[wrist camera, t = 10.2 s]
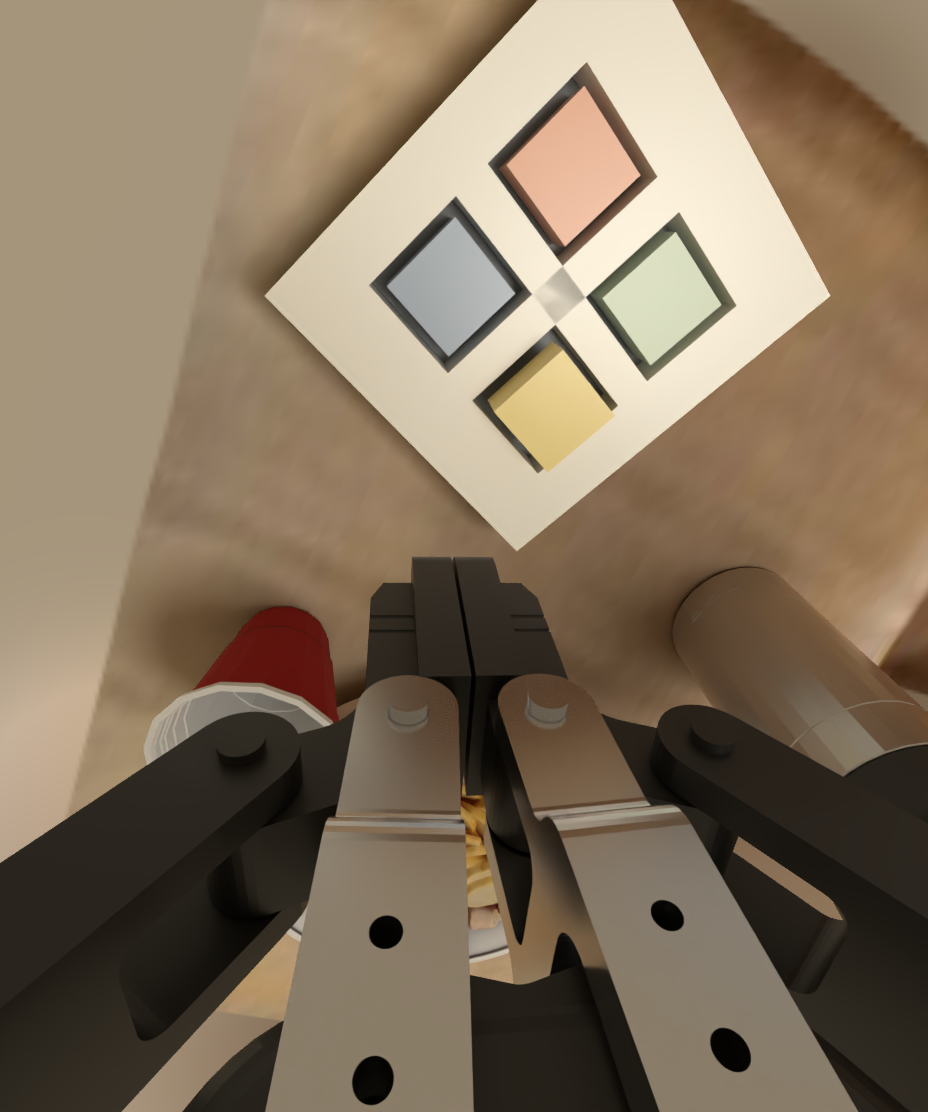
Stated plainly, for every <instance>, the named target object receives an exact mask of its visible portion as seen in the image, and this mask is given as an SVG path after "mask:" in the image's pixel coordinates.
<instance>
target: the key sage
mask: <svg viewBox="0 0 928 1112" xmlns="http://www.w3.org/2000/svg"><path fill="white" fill-rule="evenodd" d="M590 295H591V297H592V298H593V299H594V301H595V302H596V303H597V305H598V306H599V308H600V309H601V310H602V312H603V313H604V314H605V316H606V317H607V319H608V320H609V321H610V323H611V324H612V325H613V327H614V328H615V330H616V331H617V332H618V334H619V335H620V336H621V338H622V339H623V341H624V342H625V343H626V345H627V346H628V347H629V349H630V350H631V352H632V353H633V354H634V356H635V357H637V358H638V359H640V360H642V361H644V362H646V363H647V364H649V365H652V364H653V363H654V362H655V361H656V360H657V359H659V358H660V357H661V356H662V355H663V354H664V353H666V352H667V351H668V350H669V349H670V348H672V347H673V346H674V345H675V344H676V343H677V342H679V341H680V340H681V339H682V338H683V337H684V336H686V335H687V334H688V333H689V332H690V331H691V330H693V329H694V328H695V327H696V326H697V325H699V324H700V323H701V322H702V321H703V320H704V319H706V318H707V317H708V316H709V315H710V314H711V313H713V312H714V311H715V310H716V309H717V308H718V307H720V306H721V303H720V302H719V300H718V299H717V297H716V295H715V294H714V292H713V291H712V289H711V287H710V286H709V284H708V283H707V281H706V279H705V278H704V276H703V275H702V273H701V271H700V270H699V268H698V267H697V265H696V263H695V262H694V260H693V259H692V257H691V255H690V254H689V252H688V251H687V249H686V247H685V246H684V244H683V243H682V241H681V239H680V238H679V236H678V235H677V233H676V232H661V231H658V232H657V233H656V234H654V235H653V236H652V237H651V238H650V239H649V240H648V241H647V242H646V243H645V244H643V245H642V246H641V247H640V248H639V249H638V250H637V251H636V252H635V253H634V254H632V255H631V256H630V257H629V258H628V259H627V260H626V261H625V262H624V263H623V264H622V265H620V266H619V267H618V268H617V269H616V270H615V271H614V272H613V273H612V274H611V275H609V276H608V277H607V278H606V279H605V280H604V281H603V282H602V283H601V284H600V285H598V286H597V287H596V288H595V289H594V290H593V291H592V292H591V293H590Z"/></svg>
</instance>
